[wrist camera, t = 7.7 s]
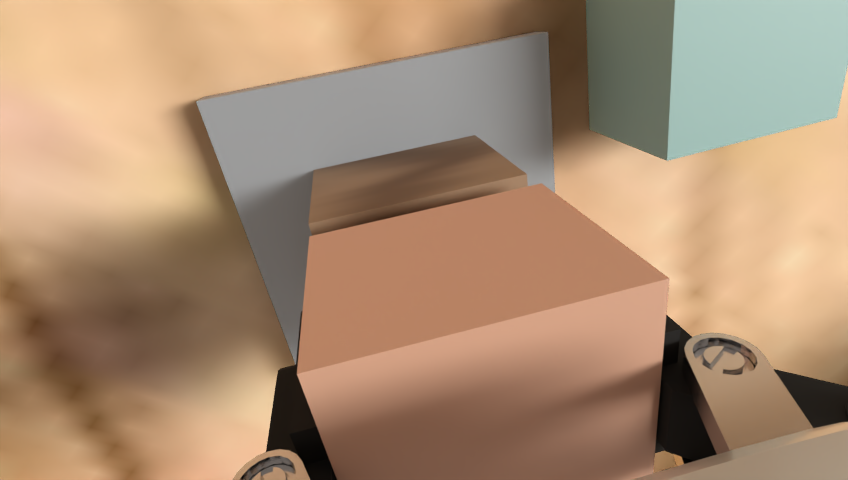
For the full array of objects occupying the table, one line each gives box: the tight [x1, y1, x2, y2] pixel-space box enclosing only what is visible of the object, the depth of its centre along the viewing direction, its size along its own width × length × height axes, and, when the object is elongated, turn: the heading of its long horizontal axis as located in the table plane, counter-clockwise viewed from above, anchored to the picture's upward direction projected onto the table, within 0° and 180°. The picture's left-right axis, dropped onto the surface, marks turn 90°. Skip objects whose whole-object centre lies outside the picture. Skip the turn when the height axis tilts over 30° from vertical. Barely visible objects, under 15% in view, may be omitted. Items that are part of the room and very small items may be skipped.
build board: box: [196, 32, 555, 365], centre depth 19 cm, size 12×12×1 cm
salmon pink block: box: [297, 183, 669, 480], centre depth 11 cm, size 6×6×5 cm
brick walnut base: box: [308, 135, 528, 236], centre depth 16 cm, size 6×6×5 cm
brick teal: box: [586, 0, 848, 161], centre depth 16 cm, size 6×6×5 cm
